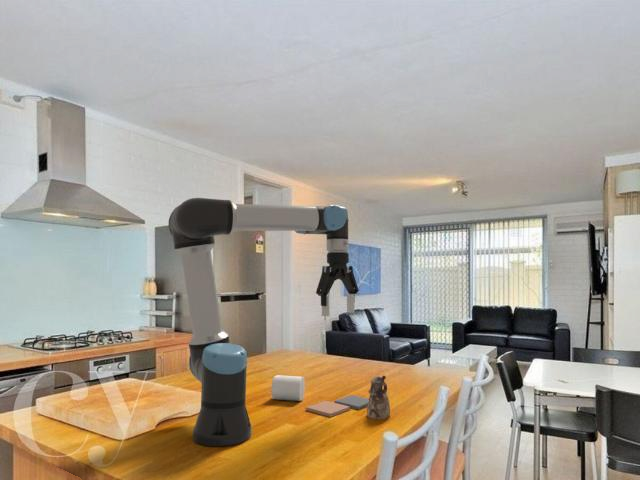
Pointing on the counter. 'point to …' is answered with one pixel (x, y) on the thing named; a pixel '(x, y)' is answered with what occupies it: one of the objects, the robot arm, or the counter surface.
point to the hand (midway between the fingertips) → (338, 314)
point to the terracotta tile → (327, 408)
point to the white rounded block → (288, 388)
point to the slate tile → (353, 402)
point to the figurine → (378, 399)
